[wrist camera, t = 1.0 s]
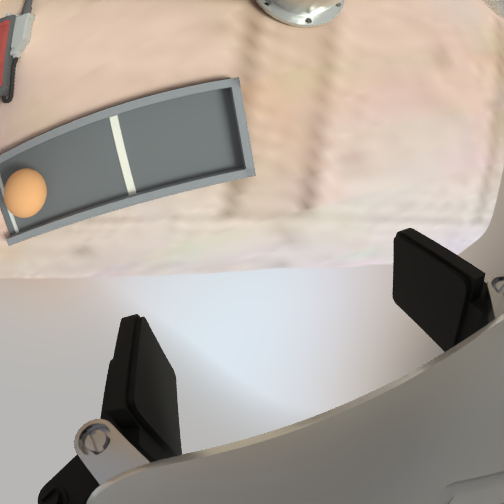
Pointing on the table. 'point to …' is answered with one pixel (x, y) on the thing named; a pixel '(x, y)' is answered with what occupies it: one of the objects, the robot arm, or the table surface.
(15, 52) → the walkie-talkie
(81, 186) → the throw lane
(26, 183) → the ball
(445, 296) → the robot arm
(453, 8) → the table surface
